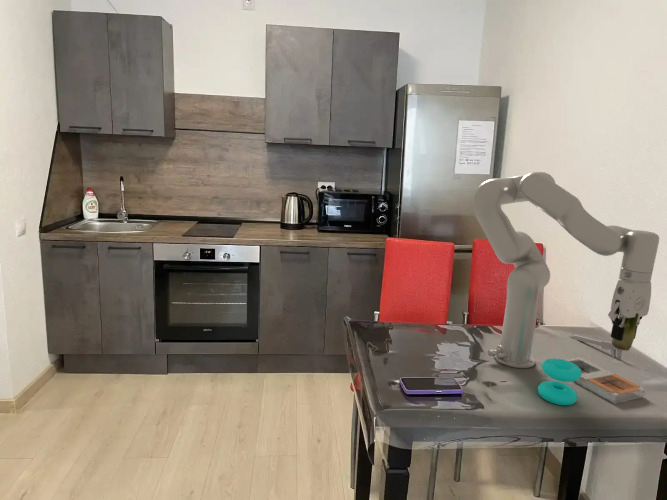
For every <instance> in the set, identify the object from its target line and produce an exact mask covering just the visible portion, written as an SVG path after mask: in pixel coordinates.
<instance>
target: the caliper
mask: <svg viewBox="0 0 667 500" xmlns="http://www.w3.org/2000/svg"><path fill="white" fill-rule="evenodd" d="M569 337H570V338H572V339H573V338H574V339H573V340H575V339H576V340H575V341H581V342H583V343H584V342H585V343H587V344H592V345H596V346H599V347H601V349H602V350H603V349H604V350H610V352H611V356H612V358H614V359H615V358H616V357H617V358H616V359H617V360H621V358H622V355H623V350H620V349H617V348H616V347H614V346H613V344H612V341H607V340H597V339H594V338H591V337H585V336H582V335H576V334H572V335H569Z"/></svg>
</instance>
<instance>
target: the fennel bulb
mask: <svg viewBox="0 0 667 500" xmlns="http://www.w3.org/2000/svg"><path fill="white" fill-rule="evenodd" d="M619 314H620V313H619ZM620 315H621V314H620ZM638 316H639V314H638V313H636V317H634V318H626V320H625V323H624V326H623V327H624V328H625V329H624V334H623V339H622V341H619V340H616V339H614V338H612V337H611V342H612V344H613V346H614V347H616V348H617V349H620V350H622V351H627V352H628V351H630V349H631V348H632V346H633V343H634V340H635V339H634V336H635V330H636V324H637V320H638ZM618 318H619V320H620V321H621V317H618ZM635 337H636V336H635Z"/></svg>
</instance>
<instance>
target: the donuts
mask: <svg viewBox="0 0 667 500" xmlns="http://www.w3.org/2000/svg"><path fill="white" fill-rule="evenodd" d="M541 369H542V372H543V373H544V374H545V375H546V376H548V377H549V378H551V379H553V380H545V381H542V382H541V383H540V384H539V385H538V386H537V392H538V394H539V396H540V397H541V398H542V399H543V400H545V401H547V402H549V403H551V404H554V405H557V406H571V405H573V404H574V403H576V402H577V399H578V395H577V392H576V391H575V389H574V388H572V387H571V386H570V385H568V384H566V383H572V382H574V381H576V380H578V379H579V378H580V377H581V374H583V373H582V370H581V368H580V367H578V366H577V365H575V364H574V363H572V362H569V361H566V360H564V359H561V358H555V357H554V358H547V359H545V360H544V361H543V362H542V363H541ZM574 383H575V382H574Z"/></svg>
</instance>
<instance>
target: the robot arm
mask: <svg viewBox="0 0 667 500" xmlns="http://www.w3.org/2000/svg"><path fill="white" fill-rule="evenodd" d="M522 202H523V203H524V202H529V203H531V204H532V205H533V206H535V207H536V208H538V209H539V210H541V211H542V212H544V213H545V214H546V215H548V216H549V217H551V218H552V219H553V220H554V221H556V222H557V223H558V224H559V225H560V227H561V228H563V229H564V230H565V232H567V233H568V234H569V235H570V236H571V237H573V238H574V239H575V240H576V241H578V242H579V243H580V244H582V245H583V246H585V247H587V248H588V249H589V250H590V251H592V252H593V253H596V254H597V255H599V256H604V257H610V256H613V255H615V254H617V253H623V255H622V261H621V266H620V270H619V271H620V272H619V275H618V280H617V282H616V285H615V288H614V291H613V295H612V299H611V304H610V311H609V313H608V314H607V316H608V318H609V319H610V321H611V324H612V328H611V333H610V337H611V339H612V338H614V339H616V340H619V341H622V339H623V334H624V329H625V328H624V327H623V326H624V323H625V320H626V318H634V317H636V313H638V314H639V316H638V320H637V324H636V330H635V336H634V340H635V339H636V337H637V330H638V326H639V325H640V323H641V320H642V319H643V317H645V316H646V317H647V315H648V313H649V310H650V304H651V298H652V277H653V271H654V267H655V262H656V257H657V253H658V250H659V249H658V248H659V244H660V236H659V235H658V234H657V233H656V232H652V231H648V230H639V229H638V230H635V229H634V230H633V229H629V228H626V227H622V226H618V225H605V224H604V223H602V222H600V221H599V220H598V219H596V218H595V217H593V215H591V214H590V213H589V212H588V211H587V210H586V209H585V208H584V207H583V205H582V202H581V201H580V199H579V198H578V197H576V196H575V195H573V194H572V193H570V192H569V191H567V190H566V189H565V188H564V187H561V186H560V185H558V184H557V183H556V180H555V178H554V177H553V175H552V174H550V173H547V172H543V171H536V172H534V171H533V172H529V173H528V174H524V175H517V176H511V177H501V178H500V177H497V178H491V179H490V178H489V179H487V180H486V181H483V182H482V183H481V184H480V185H479V186H478V188H477V189H476V191H475V192H474V195H473V198H472V210H473V213H474V214H473V215H474V217H475V218H476V220H477V221H478V223H479V225H480V227H481V229H482V231H483V233H484V235H485V237H486V239H487V241H488V242H489V245H490V246H491V248H492V250H493V252H494V254H495V256H496V257H497V259H498V261H500V262H501V263H503V264H506V265H510V264H511V265H512V264H513V266H514V269H512V270H511V272H510V273H509V275H508V278H507V281H506V302H505V309H504V317H503V324H502V329H501V330H502V331H501V336H500V337H501V338H500V344H497V347H496V348H495V349H490V350H488V351H487V355H488V357H493V358H494V359H495V361H496V362H498V363H500V364H502V365H505V366H508V367H511V368H514V369H515V368H517V369H529V368H532V367H534V366H535V363H536V361H535V358H534V357H533V356H532V354H531V353H532V347H533V344H534V343H533V342H534V336H535V330H536V324H537V317H538V311H539V303H540V302H539V301H540V300H539V299H540V298H539V296H540V291H541V290H542V289H544V288H545V287H546V286H547V285H548V284H549V282H550V279H551V271H550V268H549V266H548V264H547V263H546V261H545V259H544V257H543V254H542V253H541V251H540V250H539V247H537V245H536V243H535V240H533V238H532V237H531V236H530V235H528V233H525V232H523V231H518V230H516V229H515V228H514V227H513V225H512V223H511V221H510V219H509V217H508V215H506V213H505V212H504V211H503V210H502V207H501V206H504V205H508V204H515V203H522ZM620 314H621V315H620ZM619 317H621V321H620V320H619Z"/></svg>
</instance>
